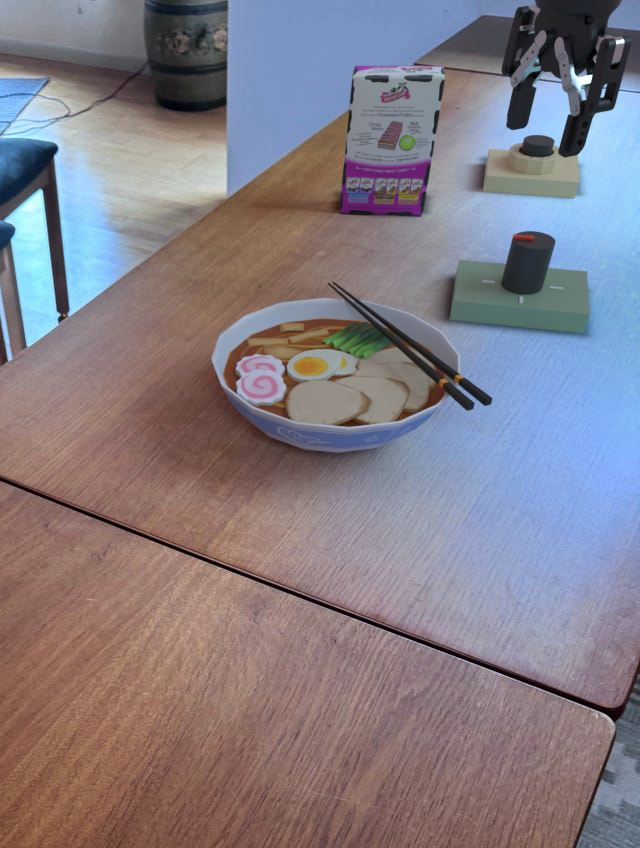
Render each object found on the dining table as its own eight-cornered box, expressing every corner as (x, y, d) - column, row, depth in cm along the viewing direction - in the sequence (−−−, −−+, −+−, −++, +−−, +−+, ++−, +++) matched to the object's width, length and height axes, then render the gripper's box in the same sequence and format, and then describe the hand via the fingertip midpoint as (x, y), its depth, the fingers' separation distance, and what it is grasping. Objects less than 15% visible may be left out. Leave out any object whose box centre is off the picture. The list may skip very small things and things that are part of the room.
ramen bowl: (171, 387, 94) (169, 313, 88) (365, 340, 99) (376, 267, 93) (278, 532, 78) (284, 453, 72) (503, 467, 83) (526, 389, 77)
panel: (579, 296, 104) (587, 269, 102) (581, 340, 98) (590, 312, 95) (454, 284, 107) (459, 258, 105) (447, 326, 101) (453, 298, 98)
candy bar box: (422, 202, 123) (446, 64, 111) (422, 217, 120) (447, 77, 108) (339, 199, 125) (353, 62, 113) (337, 214, 121) (352, 75, 109)
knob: (542, 277, 101) (556, 230, 97) (542, 296, 98) (556, 247, 94) (501, 274, 102) (513, 226, 98) (500, 292, 99) (512, 244, 95)
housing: (573, 171, 129) (581, 140, 126) (574, 199, 122) (583, 167, 119) (485, 164, 131) (492, 135, 128) (482, 192, 125) (489, 161, 122)
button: (550, 149, 125) (554, 135, 124) (551, 160, 122) (554, 146, 121) (520, 147, 126) (524, 133, 124) (520, 158, 123) (523, 144, 122)
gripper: (684, -47, 76) (619, 159, 88) (575, -76, 86) (529, 114, 97) (611, -36, 75) (554, 172, 87) (507, -67, 84) (469, 125, 96)
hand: (541, 141), depth 92 cm, fingers open, 8 cm apart
